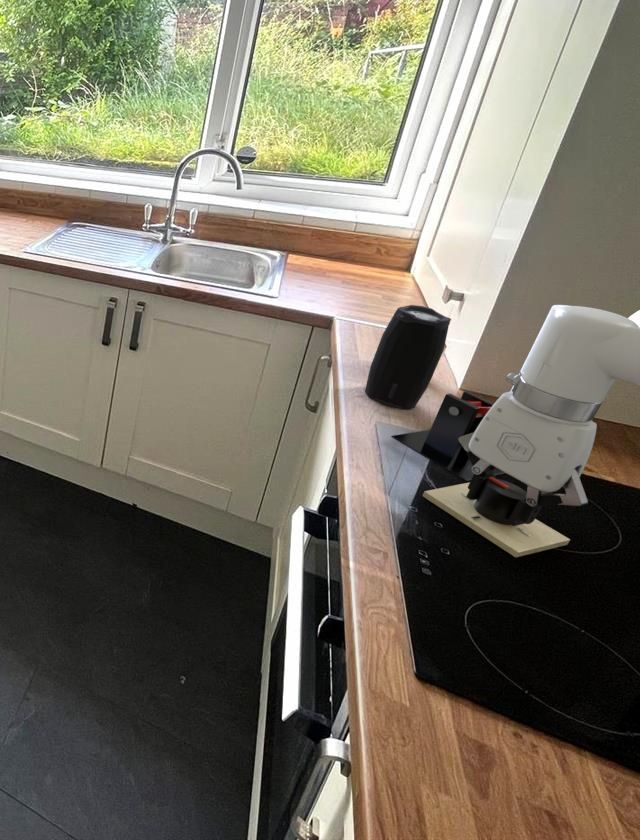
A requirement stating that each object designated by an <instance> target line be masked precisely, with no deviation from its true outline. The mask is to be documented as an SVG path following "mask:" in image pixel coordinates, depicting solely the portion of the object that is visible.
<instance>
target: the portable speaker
mask: <svg viewBox="0 0 640 840" xmlns="http://www.w3.org/2000/svg"><path fill="white" fill-rule="evenodd" d="M451 321H452V318H450V317H448V316H445V315H443V314H442V313H439V312H437V310H435V309H433V308H431V307H427V306H423V305H416V304H408V305H405V306H399V307H397V309H396V310H395V311H394V313H393V316H392V317H391V319H390V320H389V322H388V324H387V326H386V328H385V329H384V331H383V333H382V335H381V337H380V340H379V343H378V346H377V347H376V351H375V352H374V353H375V354H374V356H373V359H372V361H371V364H370V367H369V371H368V376H367V380H366V385H365V389H364V393H365V394H366V396H367V397H368V398H369V399H371V400H372V401H374V402H376V403H378V404H380V405H382V406H386V407H388V408H391V409H392V408H393V409H397V410H404V411H405V410H406V411H407V410H412V409H415V408H416V406H417V405H418V403H419V402H420V400H421V398H422V397H423V395H424V393H426V391H427V389H428V388H429V385H430V383H431V380H432V378H433V376H434V374H435V372H436V369H437V367H438V364H439V362H440V361H441V357H442V355H443V353H444V350H445V346H446V341H447V336H448V332H449V327H450V324H451Z"/></svg>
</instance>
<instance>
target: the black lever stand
mask: <svg viewBox="0 0 640 840" xmlns="http://www.w3.org/2000/svg"><path fill="white" fill-rule="evenodd" d="M467 401H481V404H482V407H492V406H493V404H494V403H495V402H494V401H493V402H492V401H491V400H488V399H486V398H484V397H482V396H480V395H478V394H476V393H473V392H471V391H470V390H466V391H465V390H464V391H463V392H462V395H461V397H458V396H456V395H454V394H453V393H446V394H445V395H444V398H443V400H442V401H441V404H440V406H439V408H438V411H437V413H436V415H435V418H434V420H433V422H432V425H431V426H430V429H426V430H425V429H424V430H419V431H412V432H407V433H406V432H405V433H401V434H394V435H391V436H390V437H391V438H392V439H394V440H396V441H398V442H399V443H401V444H402V445H404V446H406V447H407V448H409V449H410V450H413V451H414V452H415V453H417V454H419V455H420V456H423V457H424V458H426V459H428V460H429V461H431V462H432V463H434V464H436V465H438V466H439V467H441V468H442V469H444V470H446V471H448V472H449V473H451V474H453V475H454V476H455V477H457V478H459V479H461V480H462V481H465V482H470V481H471V479H472V477H473V475H474V473H473V472H472V467H473V466H472V464H471V462H470V459H469V457H468V455H467V451H465V449H464V448H463V446H462V445H461V443H460V442H459V437H462V436H465V435H467V434H470V433H473V432H475V430H476V429H477V427H478V426H479V424H480V422H481V421H482V419H483V418H484V416H485V415H486V414H483V417H477V418H476V416H477V413H478V411H479V409H480V408H479V407H477V406H475V405H473V404H471V403H469V402H467ZM494 474H496V477H497V476H501V475H508V474H507V473H505V472H503V471H501V470H500V469H498V468H497V469H496V470H495V471H494Z"/></svg>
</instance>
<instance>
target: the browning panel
mask: <svg viewBox="0 0 640 840" xmlns="http://www.w3.org/2000/svg"><path fill="white" fill-rule="evenodd" d="M469 483H470V481H468V482H465V483H459V484H454V485H449V486H444V487H439V488H434V489H429V490H424V492H423V494H422V498H425V499H426V500H428V501H429V502H430V503H432V504H434V505H435V506H436V507H438V508H440V509H442V510H443V511H444V512H446V513H448V514H449V515H451V516H452V517H453V518H455V519H456V520H458V521H460V522H461V523H462V524H464V525H465V526H467V527H469V528H470V529H472V530H473V531H475V532H476V533H478V534H479V535H481V536H482V537H483V538H486V539H487V540H488V541H490V542H491V543H493V544H494V545H496V546H497V547H499V548H500V549H502V550H504V552H506V553H508V554H510V555H511V556H512V557H513V558H519V557H523V556H527V555H528V556H529V555H532V554H535V553H540V552H543V551H547V550H552V549H556V548H559V547H563V546H567V545H568V544H569V543H570V541H571V539H570V538H569V537H567V536H565V535H564V534H562V533H560V532H558V531H557V530H555V529H553V528H552V527H550V526H548V525H546V524H545V523H543V522H541V521H540V520H538V519H536V518H535V520H534V521H533V522H532V523H530V524H521V525H517V526H512V525H504V524H499V523H496V522H494V521H491V520H489V519H487V518H485V517H484V516H482V515H481V514H479V513H478V512H477V511H476V510H475V508H474V504H475V502H476V500H477V499H476V500H470V499H469V498H467V497H466V496H467V494H468V492H469V489H468V485H469Z"/></svg>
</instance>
